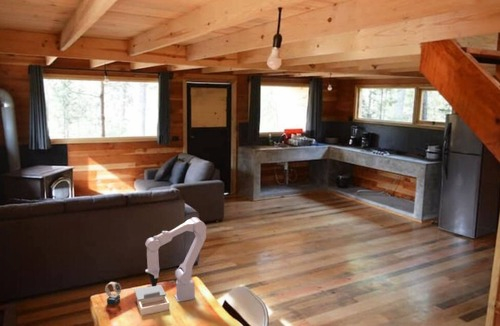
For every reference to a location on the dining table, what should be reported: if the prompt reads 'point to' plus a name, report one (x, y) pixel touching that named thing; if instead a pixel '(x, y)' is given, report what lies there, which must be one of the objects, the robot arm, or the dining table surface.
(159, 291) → the lid
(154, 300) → the box
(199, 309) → the dining table surface
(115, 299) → the watch
